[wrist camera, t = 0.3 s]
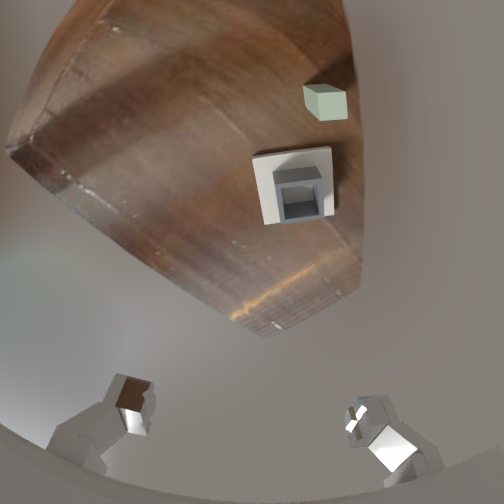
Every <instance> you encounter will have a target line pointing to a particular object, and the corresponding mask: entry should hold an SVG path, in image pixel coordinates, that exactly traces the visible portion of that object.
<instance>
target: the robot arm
mask: <svg viewBox="0 0 504 504" xmlns="http://www.w3.org/2000/svg"><path fill="white" fill-rule="evenodd" d="M153 390H154V385H153V382H148V381H145V380H141V379H137V378H133V377H129V376H125V375H122V374H118V373H117V374H116V375H115V376H114V378H113V380H112V382H111V385H110V386H109V388H108V391H107V393H106V395H105V397H104V399H103V402H102V403H101V402H98V403H96V404H95V405H93V406H91V407H89V408H88V409H86V410H84V411H82V412H81V413H79V414H77V415H76V416H74V417H72V418H70V419H69V420H67V421H65V422H64V423H61V424H60V425H58V426H57V427H56V429H55V431H54V433H53V436H52V437H51V440H50V442H49V444H48V446H47V448H46V450H44V449H43V448H41V447H39V446H37V445H35V444H33V443H31V442H30V441H28V440H26V439H24V438H23V437H21V436H19V435H18V434H16V433H15V432H13V431H11V430H10V429H8V428H7V427H5V426H4V425H2V424H0V504H504V448H502V447H500V446H498V445H494V446H491V447H489V448H487V449H485V450H483V451H481V452H479V453H477V454H475V455H473V456H471V457H469V458H467V459H465V460H463V461H461V462H459V463H456V464H454V465H451V466H449V467H447V468H445V466H444V463H443V461H442V458H441V456H440V454H439V451H438V449H437V447H436V446H435V445H433V444H432V443H430V442H429V441H428V440H426V439H425V438H424V437H422V436H421V435H420V434H418V433H417V432H416V431H414V430H413V429H412V428H410V427H409V426H408V425H406V424H405V423H404V422H400V421H399V418H398V416H397V413H396V411H395V409H394V406H393V404H392V402H391V399H390V397H389V396H388V395H380V396H367V397H357V398H355V399H354V400H353V402H352V404H353V406H352V407H350V408H349V409H348V410H347V412H346V414H345V426H346V429H348V430H349V431H350V433H349V435H348V438H349V442H350V445H351V448H358V447H367V446H369V447H368V448H369V449H370V450H371V451H372V452H373V453H374V454H375V455H376V456H377V457H378V458H379V459H380V460H381V461H382V462H383V463H384V464H385V465H386V467H387V468H388V469H389V470H390V471H391V472H392V473H391V474H390V475H388V476H387V477H386V478H385V479H384V480H383V481H384V485H385V488H383V489H379V490H375V491H370V492H366V493H360V494H355V495H350V496H344V497H337V498H330V499H323V500H313V501H300V502H280V503H249V502H231V501H219V500H209V499H202V498H194V497H188V496H182V495H176V494H171V493H166V492H161V491H157V490H152V489H148V488H144V487H140V486H137V485H133V484H130V483H126V482H123V481H120V480H117V479H113V478H110V477H108V476H105V475H106V472H107V466H106V464H105V463H104V461H103V460H102V459H101V457H100V455H101V454H102V453H104V452H105V451H106V450H107V449H108V448H110V447H111V446H112V445H113V444H114V443H116V442H117V441H118V440H119V439H120V438H122V437H123V436H124V435H125V434H127V432H130V433H135V434H139V435H143V436H147V435H148V432H149V428H150V425H151V422H150V417H151V416H153V414H154V411H155V405H156V396H155V394H154V393H153Z"/></svg>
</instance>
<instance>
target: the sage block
mask: <svg viewBox="0 0 504 504" xmlns="http://www.w3.org/2000/svg"><path fill="white" fill-rule="evenodd" d="M303 91H304V98H305V106H306V108H307V109H308V110H309V111H310V112H311V113H313V114H314V115H315V116H316V117H317V118H318V119H319V120H320V121H323V120H336V119H348V116H347V103H346V92H345V91H343V90H340V89H338V88H336V87H333V86H331V85H328V84H313V85H303Z"/></svg>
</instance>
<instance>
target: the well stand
mask: <svg viewBox="0 0 504 504" xmlns="http://www.w3.org/2000/svg"><path fill="white" fill-rule="evenodd" d="M252 161H253V166H254V171H255V176H256V182H257V187H258V192H259V197H260V202H261V208H262V213H263V218H264V224H265V225H266V224H272V223H279V222H280V223H281V224H288V223H295V222H302V221H309V220H316V219H323V218H325V216H328V215H334V189H333V166H332V150H331V147H330V146H325V147H316V148H307V149H299V150H291V151H284V152H277V153H270V154H263V155H257V156H252Z"/></svg>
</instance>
